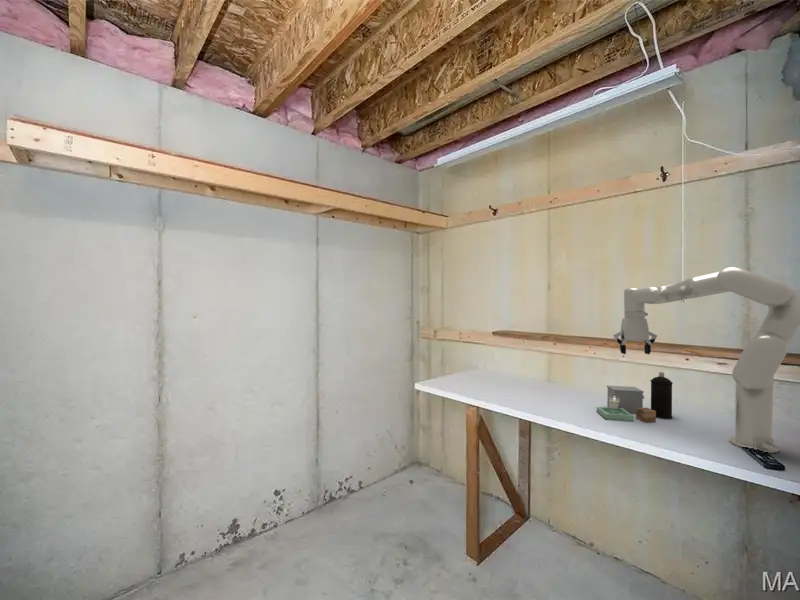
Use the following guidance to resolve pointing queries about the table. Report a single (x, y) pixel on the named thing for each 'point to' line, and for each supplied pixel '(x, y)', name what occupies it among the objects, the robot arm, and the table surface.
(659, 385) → the aerosol can
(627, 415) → the tray
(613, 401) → the fuse
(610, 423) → the table surface
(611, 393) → the box
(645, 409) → the walnut block
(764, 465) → the table surface
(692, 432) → the table surface
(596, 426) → the table surface
